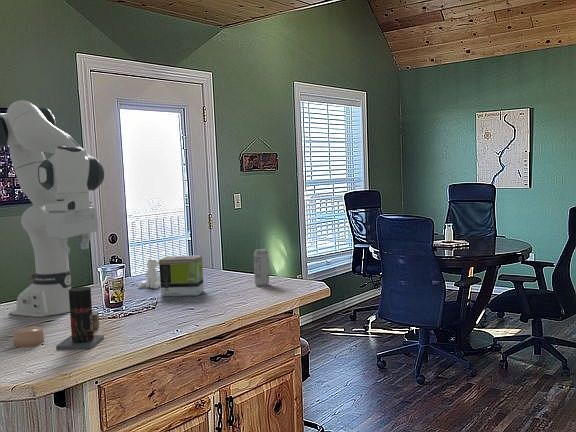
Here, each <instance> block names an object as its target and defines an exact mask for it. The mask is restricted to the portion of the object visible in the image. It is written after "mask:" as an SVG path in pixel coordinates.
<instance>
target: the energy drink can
mask: <svg viewBox="0 0 576 432" xmlns="http://www.w3.org/2000/svg"><path fill="white" fill-rule="evenodd" d="M269 262H270V261H269V252H268V251H267V248H256V249H254V253H253V267H254V269H253V270H254V272H253V273H254V284H255V286H256V287H267V286H269V284H270V269H269V268H270V265H269Z"/></svg>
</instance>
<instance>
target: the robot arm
mask: <svg viewBox="0 0 576 432" xmlns="http://www.w3.org/2000/svg"><path fill="white" fill-rule="evenodd" d="M56 123H57V122H56V118H55V116H54V114H53V113H52V111H51V110H50V109H49V108H47V107H43V106H36V105H35V104H33V103H32V102H30V101H28V100H23V99H21V100H15V101H14V102H12V103H10V105H9V106H8V108H7V109H6V113H5V114H0V148H7V147H8V149H9V155H10V160H11V164H12V166H13V167H12V168H13V170H14V174H15V175H16V178H17V181H18V184H19V187H20V189H21V192H22V193H23V194H24V195H25V196H26V197H27V198H28V199H29V201H30V202H31V204H32V206H30V207H29V208H27V209H25V211H24V212H23V213H22V216H21V219H20V221H21V226H22V229H24V231H26V233H27V234H28V236H29V239H30V243H31V246H32V248H33V249H32V250H33V254H34V263H35V264H34V265H35V273H33V274H31V275H28V276H29V280H32V281H31V283H30V285H29V286H27V287H26V288H25V289H23V291H22V292H20V293H19V294H18V295H17V299H16V307H14V308H12V309H10V311H9V315H16V316H24V317H35V318H42V317H47V316H54V315H55V316H56V315H61V314H67V313H70V303H69V289H72V273H71V269H70V261H69V254H70V253H71V247H70V246H69V245H68V242H69V239H68V238H72V237H77V236H80V235H81V237H82V241H81V242H80V249H81V250H86V249H89V248H90V246H89V244H90V240H91V236H92V235H91V234H92V233H94V232H97V231H98V229H99V220H98V214H97V209H96V208H95V205H94V203H93V202H92V201H90V193H89V192H90V191H91V192H92V191H96V190H97V189H98V188H99V187H100V186H101V185H102V184H103V182H104V179H105V170H104V167H103V165H102V163H101V162H100V161H99V160H98V159H97V158H96V157H94V156H92V155H90V154H89V153H88V152H87V151H86V150H85V149H84V148H83V147H82V146H81V145H80V143H78V142H77V141H76V140H75V139H74V138H73V137H72V136H71V135H70V134H68V133H67V132H66V131H63V130H61V129H60V128H59V127H57V125H56ZM45 153H47V154H48V153H49V154H53V155H52V156H51V157H49V158H46V155H45Z"/></svg>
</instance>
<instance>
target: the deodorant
mask: <svg viewBox="0 0 576 432" xmlns="http://www.w3.org/2000/svg"><path fill="white" fill-rule="evenodd" d="M91 289H92V288H91V287H90V286H78V287H73V288H72V287H71V289H69V303H70V312H69V316H70V332H71V336H72V342H73V343H85V342H89V341H92V340H93V339H94V336H93V335H94V330H93V320H92V311H93V308H92V307H93V305H92V290H91Z"/></svg>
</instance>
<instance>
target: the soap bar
mask: <svg viewBox="0 0 576 432" xmlns="http://www.w3.org/2000/svg"><path fill="white" fill-rule="evenodd" d="M12 334H13V346H14V347H16V348H30V347H36V346H39V345H41V344H43V343H44V342H45V336H44V335H45V333H44V327H42V326H36V325H35V326H24V327H20V328H17V329H15V330H14V331H13V332H12Z"/></svg>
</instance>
